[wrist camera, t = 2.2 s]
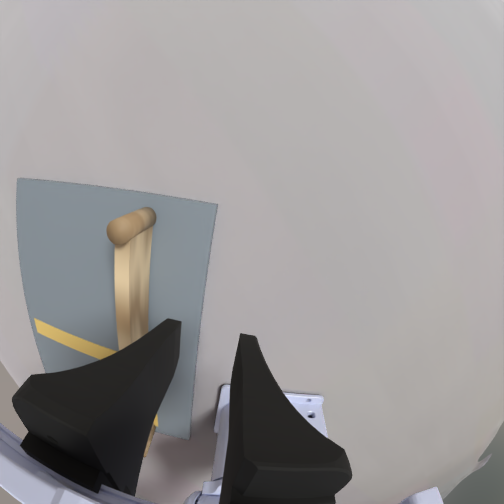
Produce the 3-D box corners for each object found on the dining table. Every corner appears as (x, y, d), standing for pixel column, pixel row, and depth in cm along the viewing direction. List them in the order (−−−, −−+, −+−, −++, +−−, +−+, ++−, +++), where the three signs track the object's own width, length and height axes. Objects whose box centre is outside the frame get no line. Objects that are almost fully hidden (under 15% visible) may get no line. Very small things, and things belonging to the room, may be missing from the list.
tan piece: (151, 359, 21) (134, 392, 17) (136, 354, 21) (117, 387, 17) (157, 208, 17) (129, 221, 13) (138, 205, 17) (107, 217, 13)
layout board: (217, 204, 18) (216, 205, 17) (190, 437, 25) (189, 440, 25) (20, 177, 17) (16, 178, 16) (54, 387, 25) (52, 390, 24)
